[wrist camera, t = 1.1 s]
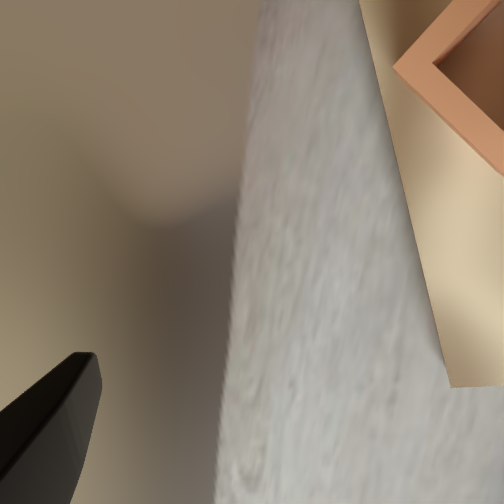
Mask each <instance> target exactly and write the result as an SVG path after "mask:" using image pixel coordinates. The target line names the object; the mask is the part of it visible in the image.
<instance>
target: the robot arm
mask: <svg viewBox="0 0 504 504" xmlns="http://www.w3.org/2000/svg"><path fill="white" fill-rule="evenodd" d="M101 392H102V378H101V373H100V369H99V364H98V359H97V356H96V354H95V353H93V352H74V353H72V354H71V355H69V356H68V357H67V358H66V359H64V360H63V361H62V362H61V363H59V364H58V365H57V366H56V367H55V368H53V369H52V370H51V371H50V372H49V373H47V374H46V375H45V376H44V377H42V378H41V379H40V380H38V381H37V382H36V383H35V384H34V385H32V386H31V387H30V388H29V389H27V390H26V391H25V392H24V393H22V394H21V395H20V396H19V397H18V398H16V399H15V400H14V401H12V402H11V403H10V404H9V405H8V406H6V407H5V408H4V409H3V410H2V411H0V504H70V502H71V499H72V497H73V494H74V491H75V488H76V486H77V483H78V480H79V477H80V474H81V471H82V468H83V465H84V461H85V457H86V453H87V449H88V445H89V441H90V437H91V433H92V429H93V425H94V421H95V416H96V413H97V408H98V405H99V400H100V396H101Z"/></svg>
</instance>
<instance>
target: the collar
mask: <svg viewBox="0 0 504 504" xmlns="http://www.w3.org/2000/svg"><path fill="white" fill-rule="evenodd" d="M502 1H503V0H453V1H452V2H451V3H450V4H449V5H448V6H447V7H446V9H445V10H444V11H443V12H442V13H441V14H440V15H439V16H438V17H437V18H436V19H435V21H434V22H433V23H432V24H431V25H430V26H429V27H428V28H427V29H426V30H425V32H424V33H423V34H422V35H421V36H420V37H419V38H418V39H417V40H416V41H415V42H414V44H413V45H412V46H411V47H410V48H409V49H408V50H407V51H406V52H405V53H404V55H403V56H402V57H401V58H400V59H399V60H398V61H397V62H396V63H395V64H394V65H393V67H392V68H393V69H394V71H395V72H396V74H397V76H398V77H399V79H400V80H402V81H403V82H404V83H405V84H406V85H407V86H408V87H409V88H410V89H411V90H412V91H413V92H414V93H415V94H416V95H417V96H418V97H419V98H420V99H421V100H422V101H423V102H424V103H425V104H426V105H427V106H429V107H430V108H431V109H432V110H433V111H434V112H435V113H436V114H437V115H438V116H439V117H440V118H441V119H442V120H443V121H444V122H445V123H446V124H447V125H448V126H449V127H450V128H451V129H452V130H453V131H454V132H456V133H457V134H458V135H459V136H460V137H461V138H462V139H463V140H464V141H465V142H466V143H467V144H468V145H469V146H470V147H471V148H472V149H473V150H474V151H475V152H476V153H477V154H478V155H479V156H480V157H482V158H483V159H484V160H485V161H486V162H487V163H488V164H489V165H490V166H491V167H492V168H493V169H494V170H495V171H496V172H498V173H499V174H500V175H501V176H503V177H504V131H503V130H502V129H501V128H500V127H499V126H498V125H496V124H495V123H494V122H493V121H492V120H491V119H490V118H489V117H488V116H487V115H486V114H485V113H484V112H483V111H482V110H481V109H480V108H479V107H478V106H477V105H476V104H474V103H473V102H472V101H471V100H470V99H469V98H468V97H467V96H466V95H465V94H464V93H463V92H462V91H461V90H460V89H459V88H458V87H457V86H456V85H455V84H454V83H452V82H451V81H450V80H449V79H448V78H447V77H446V76H445V75H444V74H443V73H442V72H441V71H440V70H439V69H438V68H437V67H438V66H439V65H440V64H441V63H442V62H443V61H444V60H445V59H446V58H447V57H448V56H449V55H450V54H451V53H452V52H453V51H454V50H455V49H456V48H457V47H458V46H459V45H460V44H461V43H462V42H463V41H464V40H465V39H466V38H467V36H468V35H469V34H470V33H471V32H472V31H473V30H474V29H475V28H476V27H477V26H478V25H479V24H480V23H481V22H482V21H483V20H484V19H485V18H486V17H487V16H488V15H489V14H490V13H491V12H492V11H493V10H494V9H495V8H496V7H497V6H498V5H499V4H500V3H501V2H502Z"/></svg>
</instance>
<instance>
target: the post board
mask: <svg viewBox="0 0 504 504" xmlns="http://www.w3.org/2000/svg"><path fill="white" fill-rule="evenodd" d="M452 1H453V0H359V3H360V7H361V11H362V16H363V20H364V24H365V28H366V32H367V37H368V41H369V45H370V49H371V53H372V58H373V62H374V66H375V70H376V75H377V79H378V83H379V87H380V91H381V96H382V100H383V104H384V108H385V112H386V117H387V121H388V125H389V129H390V133H391V138H392V142H393V146H394V150H395V155H396V159H397V163H398V167H399V171H400V176H401V180H402V184H403V188H404V192H405V197H406V201H407V205H408V209H409V214H410V218H411V222H412V226H413V230H414V235H415V239H416V243H417V247H418V251H419V256H420V260H421V264H422V268H423V272H424V277H425V281H426V285H427V289H428V294H429V298H430V302H431V306H432V310H433V315H434V319H435V323H436V327H437V331H438V336H439V340H440V344H441V348H442V352H443V357H444V361H445V365H446V369H447V374H448V378H449V382H450V386H451V388H457V387H478V386H499V385H504V177H503V176H501V175H500V174H499V173H498V172H496V171H495V170H494V169H493V168H492V167H491V166H490V165H489V164H488V163H487V162H486V161H485V160H484V159H483V158H482V157H480V156H479V155H478V154H477V153H476V152H475V151H474V150H473V149H472V148H471V147H470V146H469V145H468V144H467V143H466V142H465V141H464V140H463V139H462V138H461V137H460V136H459V135H458V134H457V133H456V132H454V131H453V130H452V129H451V128H450V127H449V126H448V125H447V124H446V123H445V122H444V121H443V120H442V119H441V118H440V117H439V116H438V115H437V114H436V113H435V112H434V111H433V110H432V109H431V108H430V107H429V106H427V105H426V104H425V103H424V102H423V101H422V100H421V99H420V98H419V97H418V96H417V95H416V94H415V93H414V92H413V91H412V90H411V89H410V88H409V87H408V86H407V85H406V84H405V83H404V82H403V81H402V80H400V79H399V77H398V76H397V74H396V72H395V71H394V69H393V68H392V67H393V65H394V64H395V63H396V62H397V61H398V60H399V59H400V58H401V57H402V56H403V55H404V53H405V52H406V51H407V50H408V49H409V48H410V47H411V46H412V45H413V44H414V42H415V41H416V40H417V39H418V38H419V37H420V36H421V35H422V34H423V33H424V32H425V30H426V29H427V28H428V27H429V26H430V25H431V24H432V23H433V22H434V21H435V19H436V18H437V17H438V16H439V15H440V14H441V13H442V12H443V11H444V10H445V9H446V7H447V6H448V5H449V4H450V3H451V2H452ZM437 68H438V69H439V70H440V71H441V72H442V73H443V74H444V75H445V76H446V77H447V78H448V79H449V80H450V81H451V82H452V83H454V84H455V85H456V86H457V87H458V88H459V89H460V90H461V91H462V92H463V93H464V94H465V95H466V96H467V97H468V98H469V99H470V100H471V101H472V102H473V103H474V104H476V105H477V106H478V107H479V108H480V109H481V110H482V111H483V112H484V113H485V114H486V115H487V116H488V117H489V118H490V119H491V120H492V121H493V122H494V123H495V124H496V125H498V126H499V127H500V128H501V129H502V130H503V131H504V0H503V1H502V2H501V3H500V4H499V5H498V6H497V7H496V8H495V9H494V10H493V11H492V12H491V13H490V14H489V15H488V16H487V17H486V18H485V19H484V20H483V21H482V22H481V23H480V24H479V25H478V26H477V27H476V28H475V29H474V30H473V31H472V32H471V33H470V34H469V35H468V36H467V38H466V39H465V40H464V41H463V42H462V43H461V44H460V45H459V46H458V47H457V48H456V49H455V50H454V51H453V52H452V53H451V54H450V55H449V56H448V57H447V58H446V59H445V60H444V61H443V62H442V63H441V64H440V65H439V66H438V67H437Z"/></svg>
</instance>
